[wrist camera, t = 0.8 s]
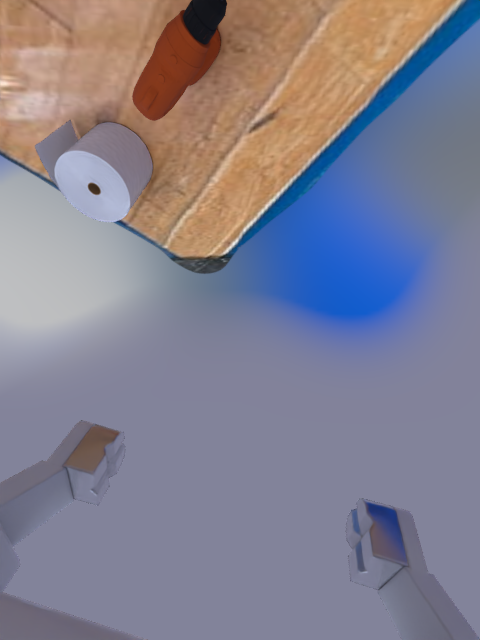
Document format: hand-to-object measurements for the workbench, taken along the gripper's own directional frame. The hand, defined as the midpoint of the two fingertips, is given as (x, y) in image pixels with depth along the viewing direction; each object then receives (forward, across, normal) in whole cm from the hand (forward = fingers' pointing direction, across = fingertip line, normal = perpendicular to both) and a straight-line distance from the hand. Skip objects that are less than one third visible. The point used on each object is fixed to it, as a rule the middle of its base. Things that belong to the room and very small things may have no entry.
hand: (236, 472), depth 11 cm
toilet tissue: (+46, +30, -2) cm, 55 cm away
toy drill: (+41, +14, -19) cm, 48 cm away
